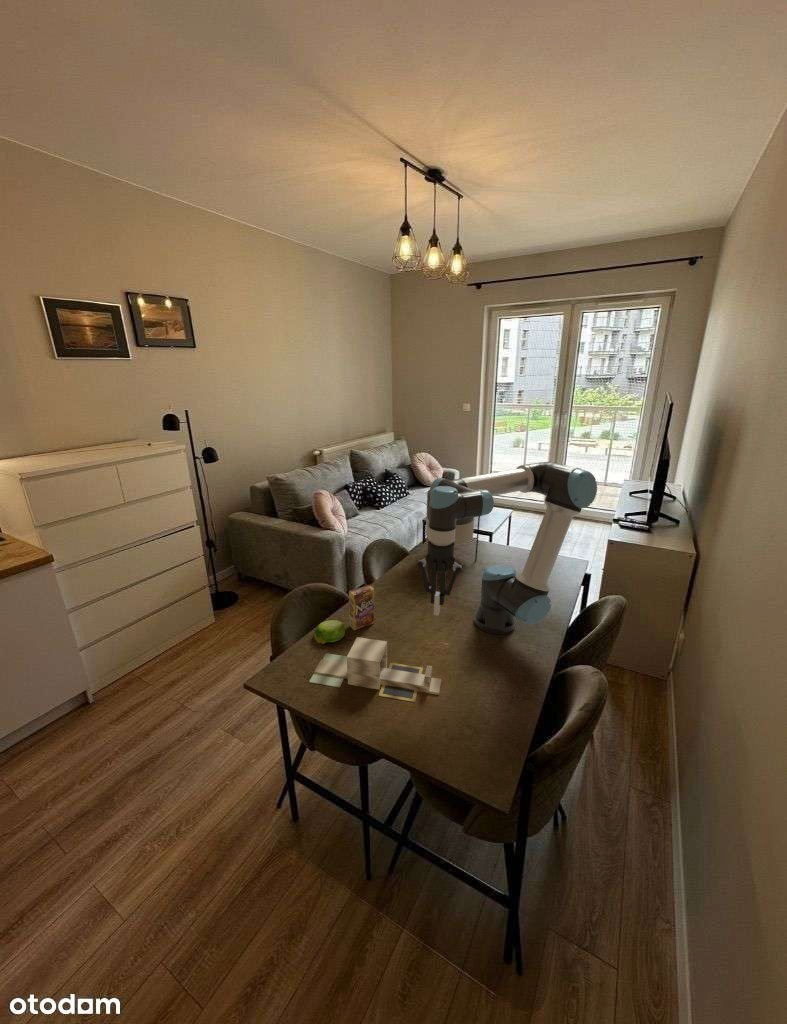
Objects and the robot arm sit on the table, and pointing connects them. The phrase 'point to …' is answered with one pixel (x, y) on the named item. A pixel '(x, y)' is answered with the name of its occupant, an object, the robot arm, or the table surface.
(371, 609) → the candy box
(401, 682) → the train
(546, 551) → the robot arm
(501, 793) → the table surface
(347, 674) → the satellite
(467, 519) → the planter
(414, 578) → the table surface
